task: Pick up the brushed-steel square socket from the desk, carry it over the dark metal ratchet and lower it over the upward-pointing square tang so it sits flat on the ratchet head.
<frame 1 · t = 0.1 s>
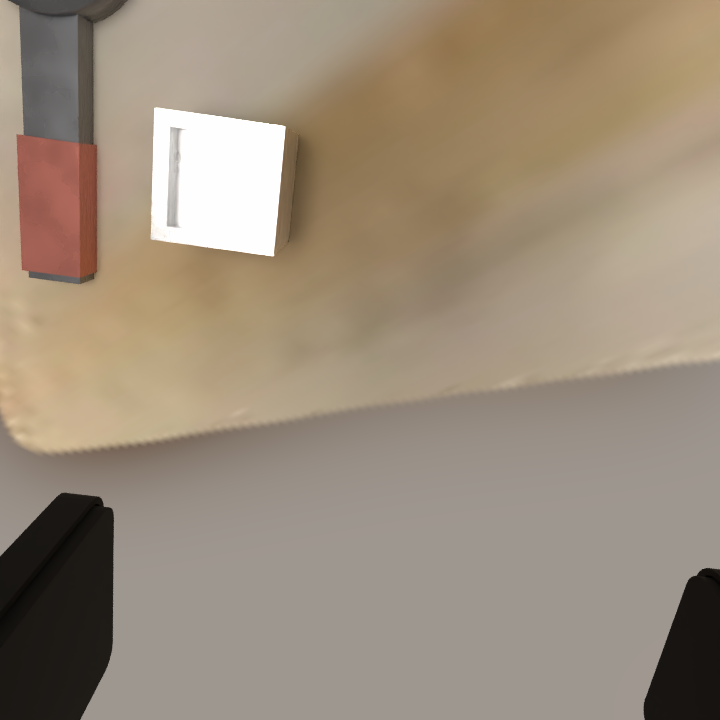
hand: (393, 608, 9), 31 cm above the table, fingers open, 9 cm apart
socket: (242, 182, 37), on the table
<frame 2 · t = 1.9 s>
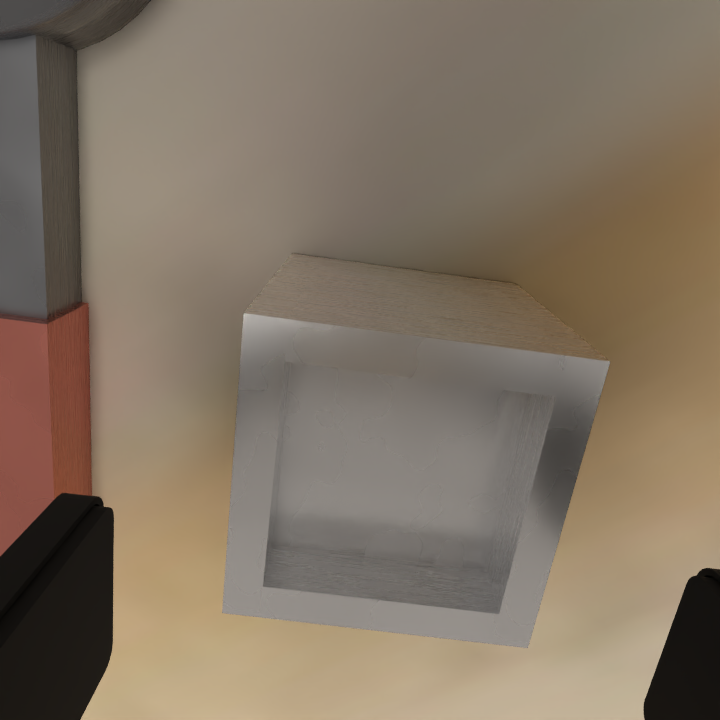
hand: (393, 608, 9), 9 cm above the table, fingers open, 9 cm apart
socket: (387, 374, 18), on the table
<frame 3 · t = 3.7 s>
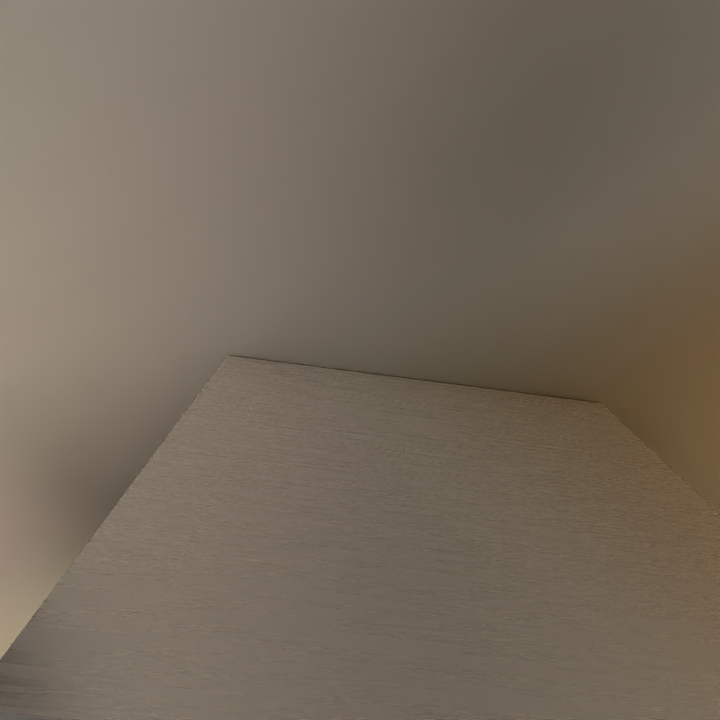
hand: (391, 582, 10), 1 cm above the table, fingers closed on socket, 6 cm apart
socket: (388, 541, 11), on the table, touching gripper
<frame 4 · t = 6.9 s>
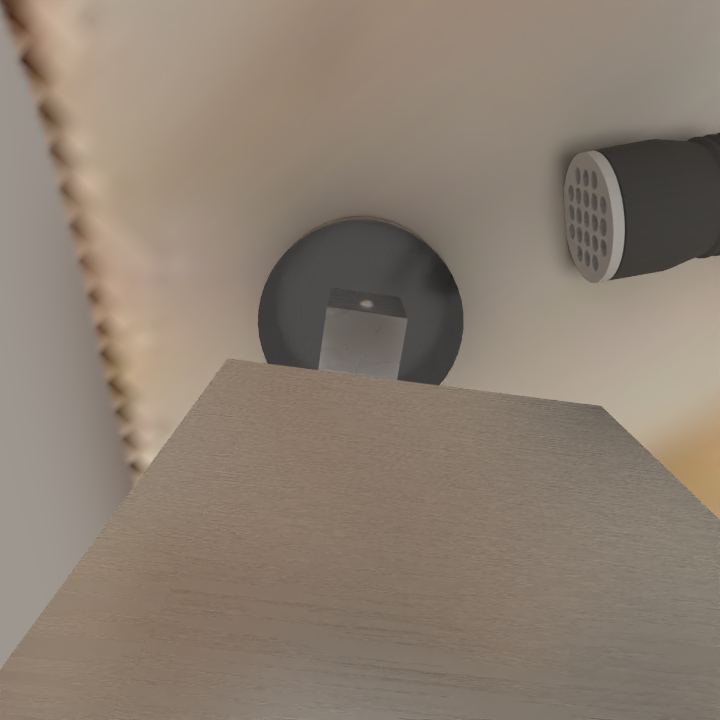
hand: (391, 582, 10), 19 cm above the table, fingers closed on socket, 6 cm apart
flashlight: (719, 188, 27), on the table
ratchet: (360, 311, 29), on the table
socket: (388, 543, 11), point 18 cm above the table, touching gripper
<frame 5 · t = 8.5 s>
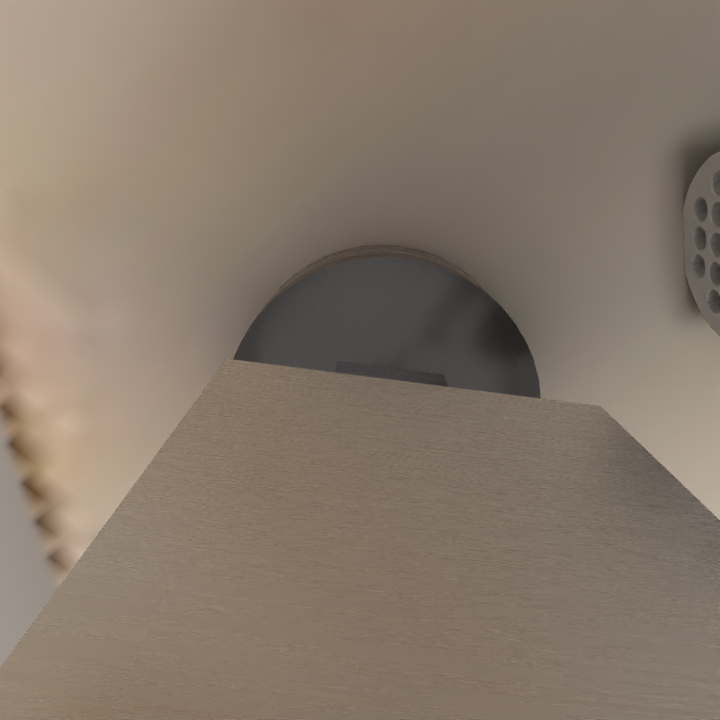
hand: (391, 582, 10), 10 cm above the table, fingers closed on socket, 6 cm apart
ratchet: (379, 381, 20), on the table
socket: (388, 543, 11), point 9 cm above the table, touching gripper
when the fingers open (5 cm above the table, at t = 10.1 s): socket drops 1 cm, resting on ratchet.
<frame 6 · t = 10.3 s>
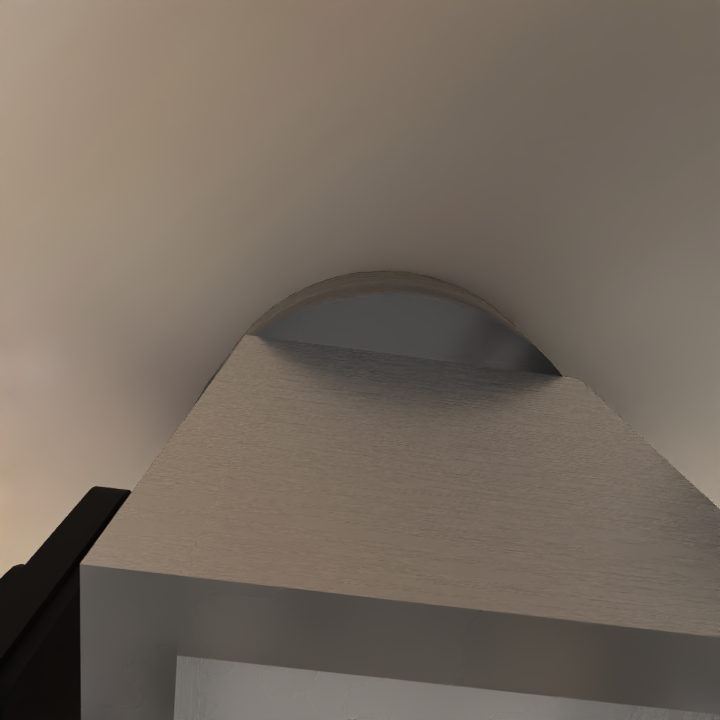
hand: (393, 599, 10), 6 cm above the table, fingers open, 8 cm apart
ratchet: (381, 443, 15), on the table, touching socket
socket: (388, 504, 12), point 3 cm above the table, touching ratchet
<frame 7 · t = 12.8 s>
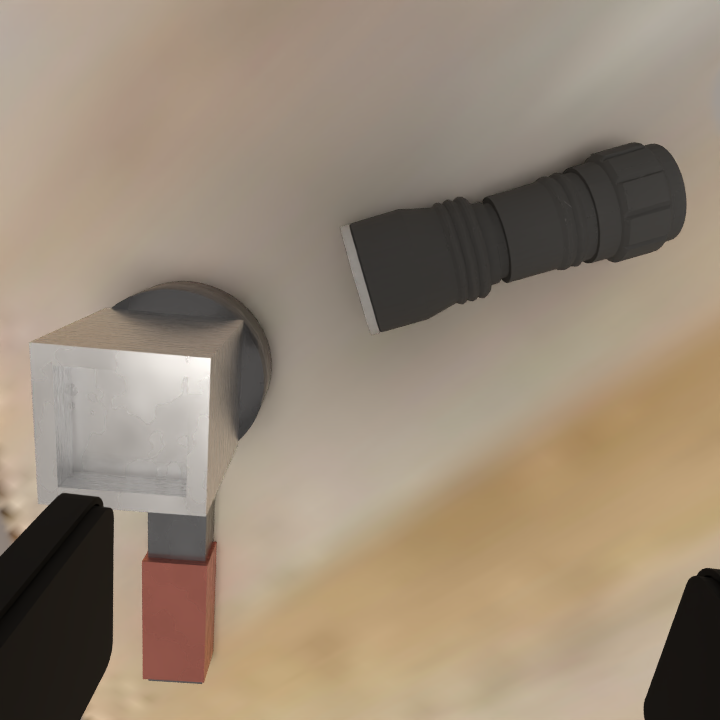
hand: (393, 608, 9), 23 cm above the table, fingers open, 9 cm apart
flashlight: (487, 236, 31), on the table
ratchet: (189, 363, 32), on the table, touching socket
socket: (174, 379, 29), point 3 cm above the table, touching ratchet
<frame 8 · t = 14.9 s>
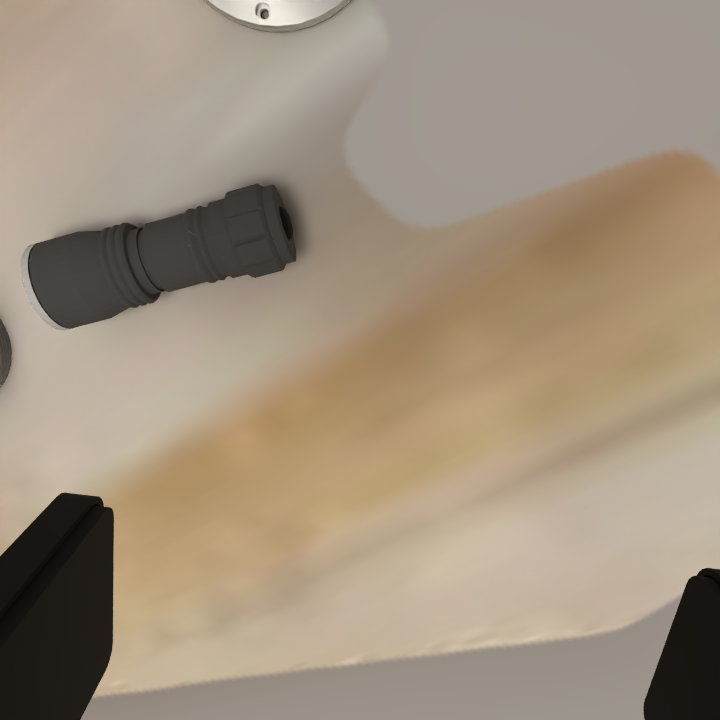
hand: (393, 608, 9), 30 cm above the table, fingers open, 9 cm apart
flashlight: (177, 252, 38), on the table
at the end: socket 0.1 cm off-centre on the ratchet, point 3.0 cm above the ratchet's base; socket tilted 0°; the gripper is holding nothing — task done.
